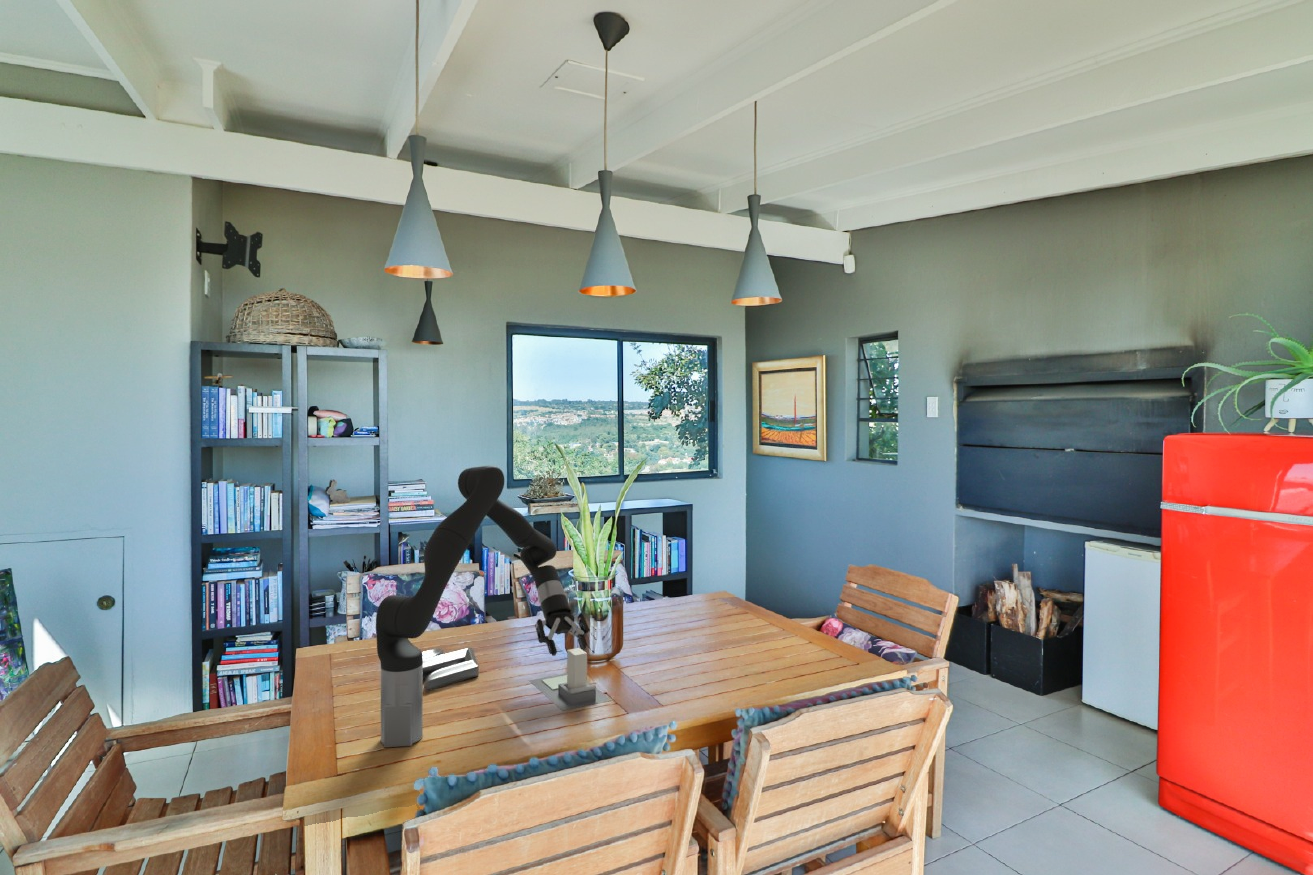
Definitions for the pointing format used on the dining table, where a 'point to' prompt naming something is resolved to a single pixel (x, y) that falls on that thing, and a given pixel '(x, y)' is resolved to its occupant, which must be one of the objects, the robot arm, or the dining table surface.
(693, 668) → the dining table surface
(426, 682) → the emblem
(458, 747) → the dining table surface
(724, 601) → the dining table surface
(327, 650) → the dining table surface
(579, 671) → the cream rectangular block
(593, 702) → the grey socket base
